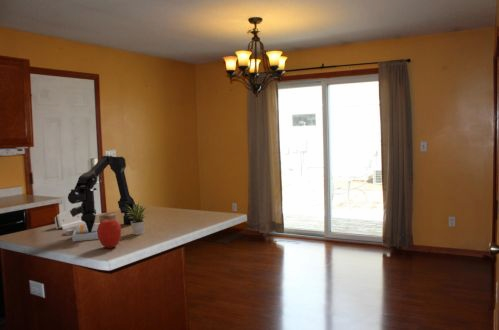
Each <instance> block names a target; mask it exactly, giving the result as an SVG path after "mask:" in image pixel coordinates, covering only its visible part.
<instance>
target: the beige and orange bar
mask: <svg viewBox="0 0 499 330" xmlns="http://www.w3.org/2000/svg"><path fill="white" fill-rule="evenodd" d="M99 224H100V222H94V224H93V228H92V231H91V232H88V228H87V225H86V224H80V225H76V226H75V228H76V233H77V234H83V233H92V232H97V229H98V226H99Z"/></svg>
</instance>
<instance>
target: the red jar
mask: <svg viewBox="0 0 499 330" xmlns="http://www.w3.org/2000/svg"><path fill="white" fill-rule="evenodd" d="M99 223H100V222H99ZM97 234H98V238H99V239H98V240H99V242H100V244H101V245H102V246H103V247H104V248H106V249H112V248H116V246H117V245H118V244H119V242H120V240H121V236H122V226H121V224H120V223H119V221H117V219H116V220H113V219H106V220H103V221H102V222H101V223H100V224H99V226H98V229H97Z"/></svg>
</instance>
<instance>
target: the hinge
mask: <svg viewBox="0 0 499 330" xmlns="http://www.w3.org/2000/svg"><path fill="white" fill-rule="evenodd" d="M70 210H71V209H70ZM70 210H65V211H62V212H61V213H58V214H57V215H55V217H54V223H55V228H56V230H59V229H62V230H66V229H72V228H74V227H75V228H76V225H80V224H86V223H85V222H84V221H81V216H82V213H80V214H78V215H76V216H74V217H72V215H71V213H70Z"/></svg>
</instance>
